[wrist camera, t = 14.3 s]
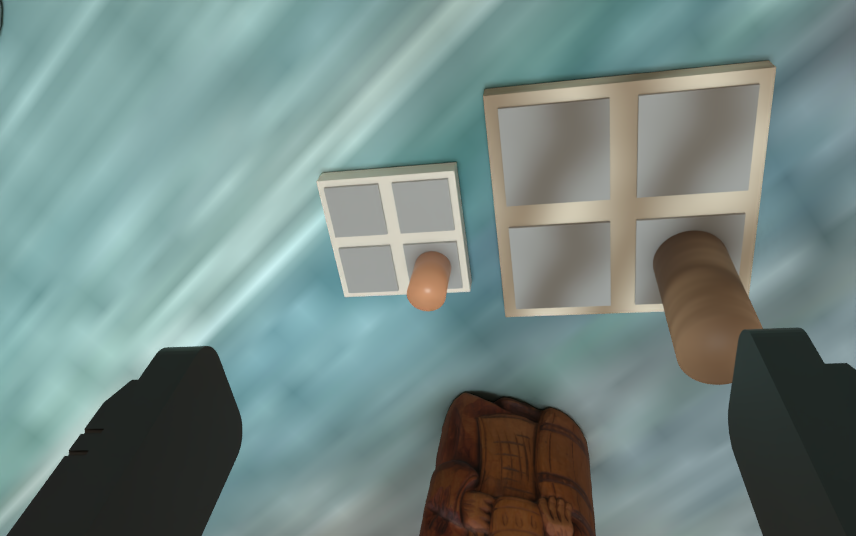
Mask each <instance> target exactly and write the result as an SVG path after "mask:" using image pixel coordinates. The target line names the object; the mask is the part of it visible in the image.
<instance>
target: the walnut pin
mask: <svg viewBox="0 0 856 536" xmlns="http://www.w3.org/2000/svg"><path fill="white" fill-rule="evenodd" d="M653 269H654V273H655V277H656V281H657V285H658V289H659V293H660V296H661V300H662V304H663V308H664V312H665V315H666V319H667V323H668V327H669V331H670V335H671V338H672V342H673V346H674V350H675V354H676V357H677V361H678V364H679V366H680V368H681V369H682V370H683V371H684V373H685V374H687V375H688V376H689V377H691V378H692V379H694V380H697V381H699V382H702V383H707V384H715V385H721V384H729V383H732V380H733V373H734V366H735V359H736V351H737V344H738V339H739V335H740V333H741V332H742V330H744V329H763V328H762V326H761V323H760V321H759V319H758V317H757V315H756V312H755V310H754V308H753V306H752V304H751V301H750V299H749V297H748V295H747V293H746V290H745V288H744V286H743V284H742V282H741V280H740V277H739V275H738V273H737V271H736V269H735V266H734V264H733V262H732V260H731V258H730V255H729V253H728V251H727V249H726V247H725V245H724V244H723V242H722V241H721V240H720V239H719V238H717V237H716V236H714V235H712V234H710V233H707V232H704V231H685V232H681V233H678V234H676V235H674V236H672V237H670V238H668V239H667V240H666V241H664V242H663V243H662V244H661V245H660V247H659V248H658V249H657V251H656V253H655V256H654V259H653Z"/></svg>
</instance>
